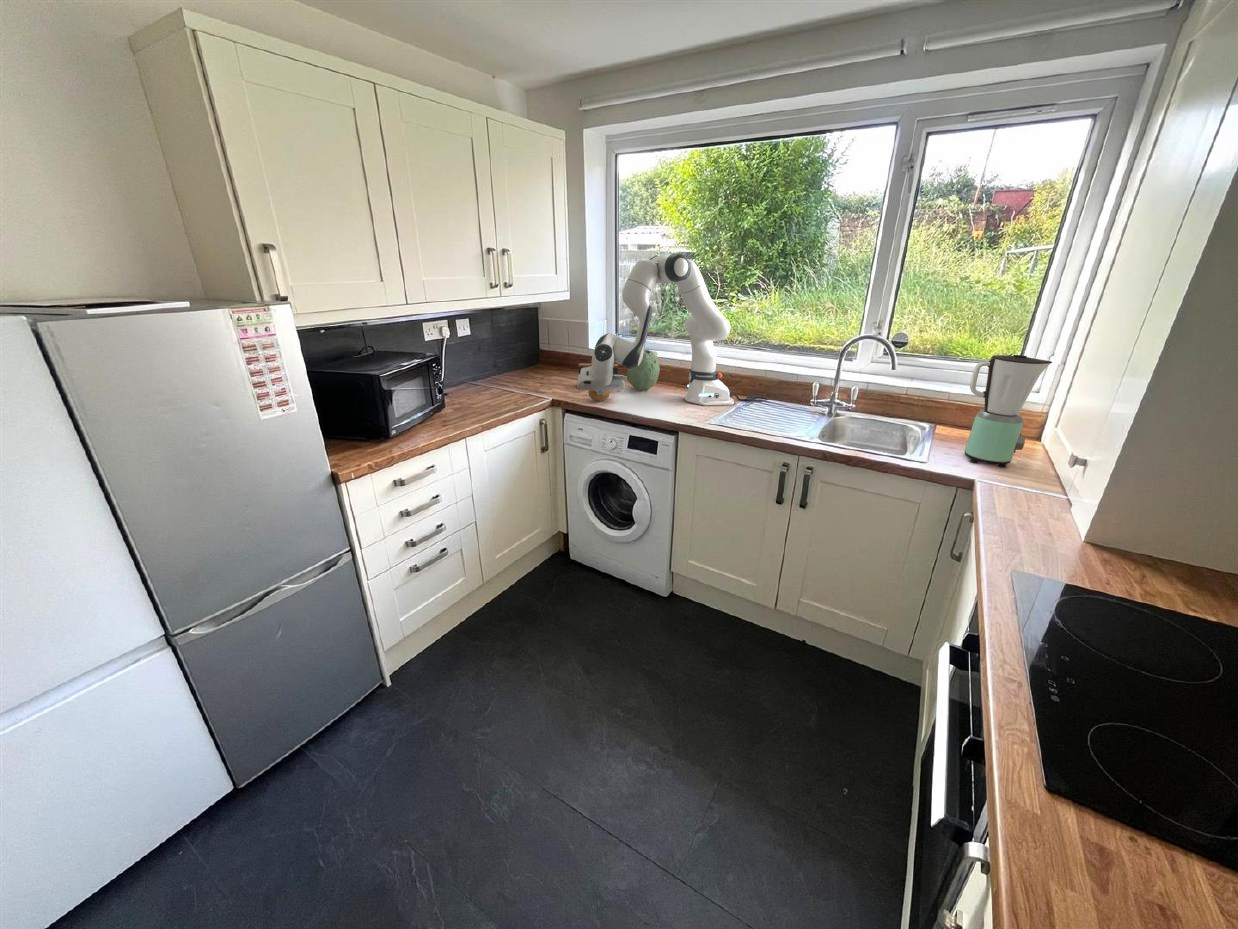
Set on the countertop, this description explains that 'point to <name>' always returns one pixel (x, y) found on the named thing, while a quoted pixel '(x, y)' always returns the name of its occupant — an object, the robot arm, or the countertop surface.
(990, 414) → the green blender
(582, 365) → the shoe shelf
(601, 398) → the potato
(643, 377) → the green rounded bumpy piece
